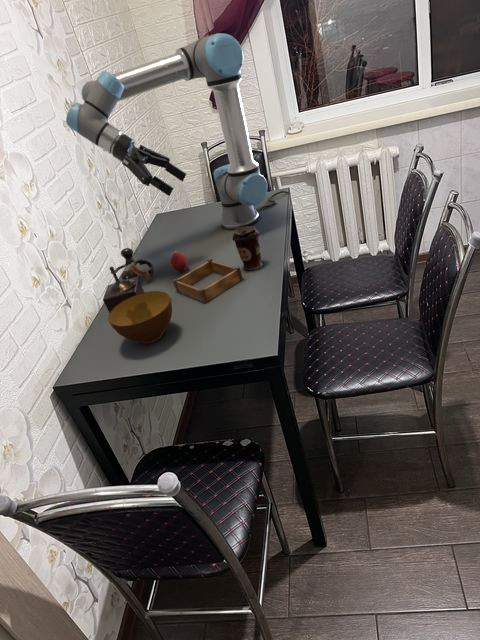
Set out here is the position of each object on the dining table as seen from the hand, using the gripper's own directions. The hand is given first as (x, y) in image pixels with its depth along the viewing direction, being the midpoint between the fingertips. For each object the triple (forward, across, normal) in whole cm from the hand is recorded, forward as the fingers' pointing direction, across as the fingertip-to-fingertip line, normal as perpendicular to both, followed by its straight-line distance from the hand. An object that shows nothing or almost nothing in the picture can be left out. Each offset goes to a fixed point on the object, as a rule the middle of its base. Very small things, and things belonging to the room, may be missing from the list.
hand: (178, 184), depth 148 cm
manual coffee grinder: (+8, +23, -34) cm, 42 cm away
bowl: (+17, +40, -25) cm, 50 cm away
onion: (+15, 0, -27) cm, 31 cm away
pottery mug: (+4, +4, -38) cm, 38 cm away
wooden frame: (+25, +13, -17) cm, 33 cm away
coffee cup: (+34, +3, -8) cm, 35 cm away
